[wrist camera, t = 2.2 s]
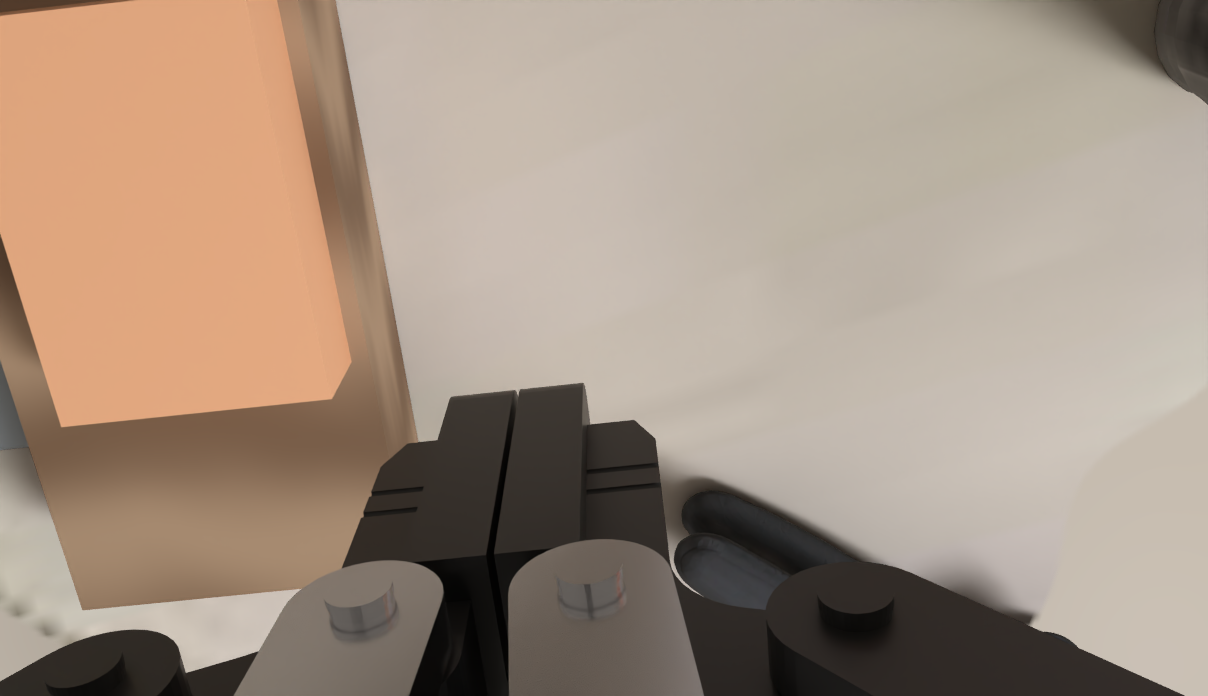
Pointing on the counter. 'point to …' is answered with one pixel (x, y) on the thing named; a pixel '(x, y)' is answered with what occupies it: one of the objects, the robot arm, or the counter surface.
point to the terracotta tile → (164, 210)
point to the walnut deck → (239, 436)
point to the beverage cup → (1184, 43)
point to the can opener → (746, 551)
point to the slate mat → (9, 418)
